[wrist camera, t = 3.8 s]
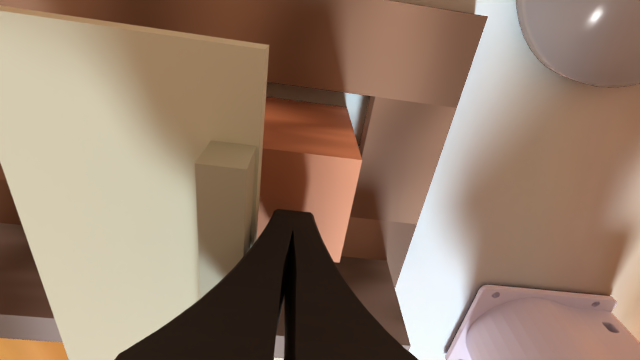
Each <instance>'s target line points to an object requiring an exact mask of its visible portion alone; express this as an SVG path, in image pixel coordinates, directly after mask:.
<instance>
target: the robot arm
mask: <svg viewBox="0 0 640 360" xmlns="http://www.w3.org/2000/svg"><path fill="white" fill-rule="evenodd" d="M283 299H284V360H418V359H417V358H416V357H415V356H413V355H412V354H411V353H410V352H409V351H407V350H406V349H405V348H404V347H403V346H402V345H401V344H400V343H399V342H398V341H397V340H396V339H395V338H394V337H393V336H391V335H390V334H389V333H388V332H387V331H386V330H385V328H384V327H383V326H382V325H381V324H380V323H379V322H378V321H377V320H376V319H375V318H374V316H373V315H372V314H371V313H370V312H369V311H368V310H367V309H366V307H365V306H364V305H363V304H362V302H361V301H360V300H359V299H358V297H357V296H356V295H355V293H354V292H353V291H352V289H351V288H350V286H349V285H348V284H347V282H346V281H345V279H344V278H343V276H342V274H341V273H340V271H339V270H338V268H337V266H336V265H335V263H334V261H333V259H332V257H331V256H330V254H329V252H328V250H327V248H326V246H325V244H324V242H323V240H322V237H321V235H320V233H319V230H318V228H317V225H316V222H315V219H314V216H313V214H312V213H311V212H302V211H293V210H284V209H276V210H275V211H274V212H273V214H272V217H271V219H270V220H269V222H268V224H267V226H266V227H265V229H264V230H263V232H262V233H261V235H260V236H259V237H258V239H257V240H256V242H255V243H254V244H253V246H252V247H251V248H250V249H249V251H248V252H247V253H246V254H245V255H244V256H243V258H242V259H241V260H240V261H239V262H238V263H237V265H236V266H235V267H234V268H233V269H232V270H231V271H230V272H229V273H228V274H227V275H226V276H225V277H224V278H223V279H222V280H221V281H220V282H219V283H218V284H217V285H215V286H214V287H213V288H212V289H211V290H210V291H209V292H207V293H206V294H205V295H204V296H203V297H202V298H200V299H199V300H198V301H197V302H196V303H194V304H193V305H192V306H190V307H189V308H188V309H186V310H185V311H184V312H182V313H181V314H179V315H178V316H177V317H175V318H174V319H173V320H171V321H170V322H168V323H167V324H166V325H164V326H163V327H161V328H160V329H158V330H157V331H155V332H154V333H152V334H150V335H149V336H147V337H145V338H144V339H142V340H141V341H139V342H137V343H136V344H134V345H133V346H131V347H129V348H128V349H126V350H124V351H123V352H121V353H119V354H118V356H117V357H116V358H115V359H114V360H274V350H275V340H276V334H277V329H278V324H279V319H280V314H281V309H282V304H283ZM616 305H617V301H616V300H615V299H614V298H613V297H611V296H603V295H592V294H582V293H571V292H561V291H550V290H539V289H529V288H518V287H507V286H497V285H484V286H482V287H481V288H480V289H479V291H478V293H477V295H476V297H475V299H474V301H473V303H472V305H471V307H470V309H469V311H468V313H467V315H466V316H465V318H464V320H463V322H462V324H461V326H460V328H459V330H458V332H457V334H456V336H455V338H454V340H453V342H452V344H451V346H450V348H449V350H448V352H447V354H446V356H445V359H446V360H640V342H639V341H638V340H637V339H636V338H635V337H634V336H633V335H632V334H631V333H630V332H629V331H628V330H627V329H626V327H625V326H624V325H623V324H622V323H621V322H620V321H619V320H618V319H617V318H616V317H615V316H614V315H613V314H612V313H611V311H612V310H613V309H614V308H615V306H616Z"/></svg>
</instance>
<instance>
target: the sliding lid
mask: <svg viewBox="0 0 640 360" xmlns="http://www.w3.org/2000/svg"><path fill="white" fill-rule="evenodd" d="M268 57H269V45H266V44H259V43H252V42H245V41H239V40H232V39H225V38H218V37H211V36H205V35H198V34H191V33H184V32H177V31H171V30H164V29H157V28H150V27H143V26H137V25H130V24H123V23H116V22H109V21H103V20H96V19H89V18H82V17H75V16H69V15H62V14H55V13H48V12H41V11H35V10H28V9H21V8H14V7H7V6H1V5H0V163H1V166H2V169H3V171H4V174H5V177H6V180H7V183H8V186H9V189H10V192H11V194H12V197H13V200H14V203H15V206H16V209H17V212H18V215H19V217H20V220H21V223H22V226H23V229H24V232H25V235H26V238H27V241H28V243H29V246H30V249H31V252H32V255H33V258H34V261H35V264H36V266H37V269H38V272H39V275H40V278H41V281H42V284H43V287H44V289H45V292H46V295H47V298H48V301H49V304H50V307H51V310H52V312H53V315H54V318H55V321H56V324H57V327H58V330H59V333H60V336H61V338H62V341H63V344H64V347H65V350H66V353H67V356H68V359H69V360H114V359H115V358H116V357H117V356H118V354H119V353H121V352H123V351H124V350H126V349H128V348H129V347H131V346H133V345H134V344H136V343H137V342H139V341H141V340H142V339H144V338H145V337H147V336H149V335H150V334H152V333H154V332H155V331H157V330H158V329H160V328H161V327H163V326H164V325H166V324H167V323H168V322H170V321H171V320H173V319H174V318H175V317H177V316H178V315H179V314H181V313H182V312H184V311H185V310H186V309H188V308H189V307H190V306H192V305H193V304H194V303H196V302H197V301H198V300H199V299H200V298H202V297H203V296H204V295H205V294H206V293H207V292H209V291H210V290H211V289H212V288H213V287H214V286H215V285H217V284H218V283H219V282H220V281H221V280H222V279H223V278H224V277H225V276H226V275H227V274H228V273H229V272H230V271H231V270H232V269H233V268H234V267H235V266H236V265H237V263H238V262H239V261H240V260H241V259H242V258H243V256H244V255H245V254H246V253H247V252H248V251H249V249H250V248H251V247H252V246H253V244H254V243H255V242H256V240H257V228H258V212H259V197H260V181H261V166H262V150H263V135H264V119H265V104H266V88H267V73H268Z"/></svg>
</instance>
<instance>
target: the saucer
mask: <svg viewBox="0 0 640 360" xmlns="http://www.w3.org/2000/svg"><path fill="white" fill-rule="evenodd" d="M516 4H517V13H518V19H519V24H520V27H521V30H522V33H523V36H524V38H525V40H526V42H527V44H528V46H529V48H530V49H531V51H532V52H533V53H534V55H535V56H536V57H537V59H538V60H539V61H541V62H542V63H543V64H544V65H545V66H546V67H547V68H549V69H550V70H552V71H554V72H555V73H557V74H559V75H561V76H564V77H566V78H569V79H572V80H575V81H578V82H581V83H584V84H589V85H593V86H599V87H625V86H631V85H636V84H640V0H516Z"/></svg>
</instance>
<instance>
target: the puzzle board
mask: <svg viewBox="0 0 640 360" xmlns="http://www.w3.org/2000/svg"><path fill="white" fill-rule="evenodd" d="M0 5H1V6H7V7H14V8H21V9H28V10H35V11H41V12H48V13H55V14H62V15H69V16H75V17H82V18H89V19H96V20H103V21H109V22H116V23H123V24H130V25H137V26H143V27H150V28H157V29H164V30H171V31H177V32H184V33H191V34H198V35H205V36H211V37H218V38H225V39H232V40H239V41H245V42H252V43H259V44H266V45H269V57H268V73H267V82H272V83H280V84H287V85H294V86H301V87H309V88H316V89H323V90H330V91H338V92H345V93H352V94H359V95H367V96H370V98H369V103H368V108H367V112H366V117H365V122H364V126H363V131H362V136H361V141H360V145H359V151H360V154H361V158H362V164H361V168H360V173H359V177H358V182H357V186H356V191H355V195H354V200H353V204H352V209H351V213H350V218H349V222H348V227H347V231H346V236H345V240H344V245H343V249H342V254H341V258H340V263H339V262H334V263H335V265H336V266H337V268H338V270H339V271H340V273H341V274H342V276H343V278H344V279H345V281H346V282H347V284H348V285H349V286H350V288H351V289H352V291H353V292H354V293H355V295H356V296H357V297H358V299H359V300H360V301H361V302H362V304H363V305H364V306H365V307H366V309H367V310H368V311H369V312H370V313H371V314H372V315H373V316H374V318H375V319H376V320H377V321H378V322H379V323H380V324H381V325H382V326H383V327H384V328H385V330H386V331H387V332H388V333H389V334H390V335H391V336H393V337H394V338H395V339H396V340H397V341H398V342H399V343H400V344H401V345H402V346H403V347H404V348H405V349H406V350H407V351H408V350H409V348H410V342H409V339H408V335H407V332H406V328H405V324H404V321H403V317H402V313H401V310H400V306H399V303H398V299H397V295H396V292H395V288H394V287H395V286H396V283H397V280H398V278H399V275H400V272H401V269H402V266H403V263H404V260H405V257H406V254H407V251H408V248H409V245H410V242H411V240H412V237H413V234H414V231H415V228H416V225H417V222H418V219H419V216H420V213H421V210H422V207H423V204H424V202H425V199H426V196H427V193H428V190H429V187H430V184H431V181H432V178H433V175H434V172H435V169H436V167H437V164H438V161H439V158H440V155H441V152H442V149H443V146H444V143H445V140H446V137H447V134H448V131H449V129H450V126H451V123H452V120H453V117H454V114H455V111H456V108H457V105H458V102H459V99H460V96H461V93H462V91H463V88H464V85H465V82H466V79H467V76H468V73H469V70H470V67H471V64H472V61H473V58H474V55H475V53H476V50H477V47H478V44H479V41H480V38H481V35H482V32H483V29H484V26H485V23H486V20H487V18H488V16H482V15H475V14H469V13H463V12H457V11H451V10H445V9H439V8H432V7H426V6H420V5H414V4H408V3H402V2H395V1H389V0H0ZM0 338H8V339H22V340H36V341H50V342H63V341H62V338H61V336H60V333H59V330H58V327H57V324H56V321H55V318H54V315H53V312H52V310H51V307H50V304H49V301H48V298H47V295H46V292H45V289H44V287H43V284H42V281H41V278H40V275H39V272H38V269H37V266H36V264H35V261H34V258H33V255H32V252H31V249H30V246H29V243H28V241H27V238H26V235H25V232H24V229H23V226H22V223H21V220H20V217H19V215H18V212H17V209H16V206H15V203H14V200H13V197H12V194H11V192H10V189H9V186H8V183H7V180H6V177H5V174H4V171H3V169H2V166H1V163H0ZM274 358H284V299H283V304H282V309H281V314H280V319H279V324H278V329H277V334H276V340H275V350H274Z"/></svg>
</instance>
